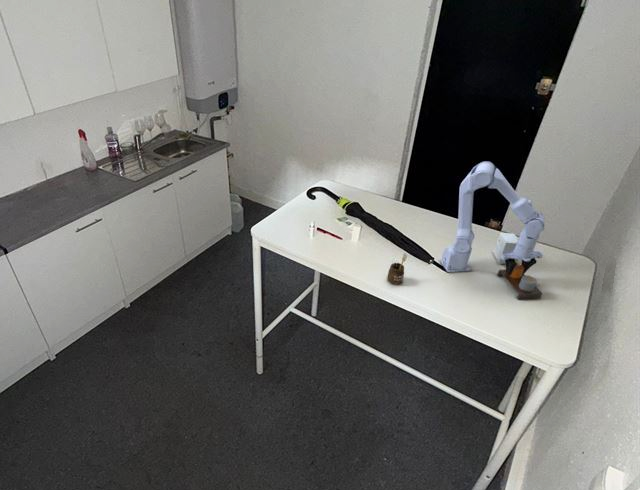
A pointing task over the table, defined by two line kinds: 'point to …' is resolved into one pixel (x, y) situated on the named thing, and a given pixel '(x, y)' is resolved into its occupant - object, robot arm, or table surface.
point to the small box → (505, 245)
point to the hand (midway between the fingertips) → (514, 273)
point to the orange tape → (517, 271)
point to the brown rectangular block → (515, 284)
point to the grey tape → (527, 283)
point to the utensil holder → (396, 272)
